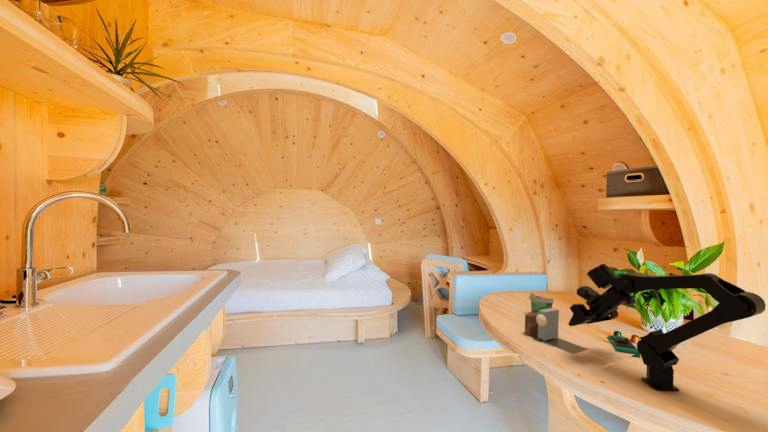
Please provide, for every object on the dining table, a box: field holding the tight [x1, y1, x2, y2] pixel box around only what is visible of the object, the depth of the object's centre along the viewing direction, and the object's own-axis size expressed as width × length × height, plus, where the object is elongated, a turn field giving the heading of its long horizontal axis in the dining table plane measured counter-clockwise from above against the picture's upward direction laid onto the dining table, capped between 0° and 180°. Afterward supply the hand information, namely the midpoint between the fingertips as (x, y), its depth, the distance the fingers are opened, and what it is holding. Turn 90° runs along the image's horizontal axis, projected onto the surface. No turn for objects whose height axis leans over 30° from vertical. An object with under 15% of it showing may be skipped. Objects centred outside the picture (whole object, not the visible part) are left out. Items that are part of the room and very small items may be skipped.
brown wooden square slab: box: [524, 312, 538, 337], centre depth 140 cm, size 2×8×8 cm, turn 117°
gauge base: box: [521, 332, 589, 355], centre depth 132 cm, size 22×10×1 cm, turn 27°
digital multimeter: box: [606, 335, 641, 358], centre depth 128 cm, size 7×15×3 cm, turn 158°
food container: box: [528, 292, 555, 313], centre depth 165 cm, size 12×6×10 cm, turn 25°
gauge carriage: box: [536, 307, 560, 341], centre depth 134 cm, size 6×10×11 cm, turn 117°
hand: (578, 323), depth 123 cm, fingers open, 9 cm apart
